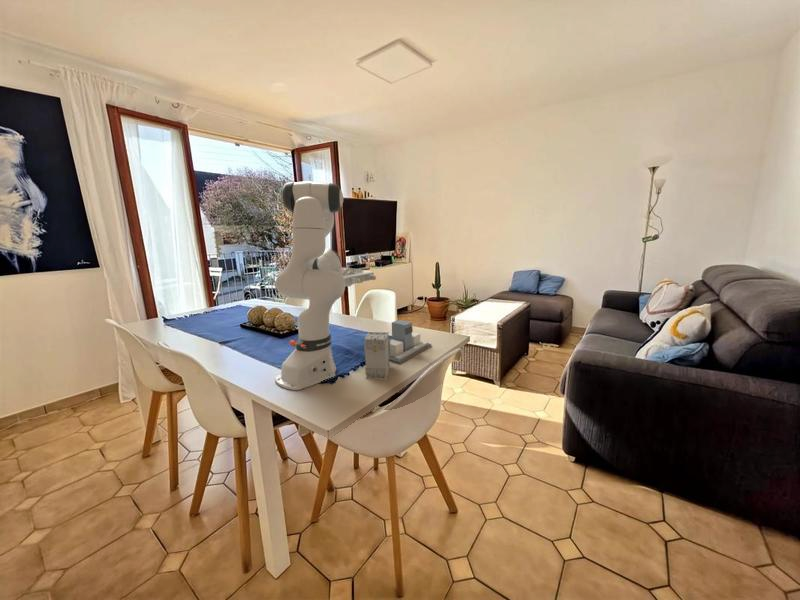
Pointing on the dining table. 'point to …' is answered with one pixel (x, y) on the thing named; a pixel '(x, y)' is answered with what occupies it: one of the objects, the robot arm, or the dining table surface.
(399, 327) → the block
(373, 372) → the circuit breaker
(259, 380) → the dining table surface
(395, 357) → the rail plate
